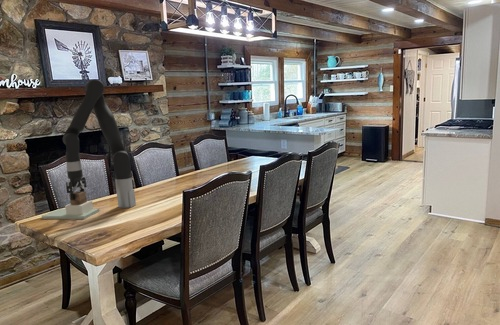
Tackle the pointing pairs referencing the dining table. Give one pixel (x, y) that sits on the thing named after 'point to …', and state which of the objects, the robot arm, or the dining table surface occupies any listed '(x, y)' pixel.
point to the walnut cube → (79, 198)
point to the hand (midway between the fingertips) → (78, 197)
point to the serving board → (62, 215)
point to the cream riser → (79, 208)
